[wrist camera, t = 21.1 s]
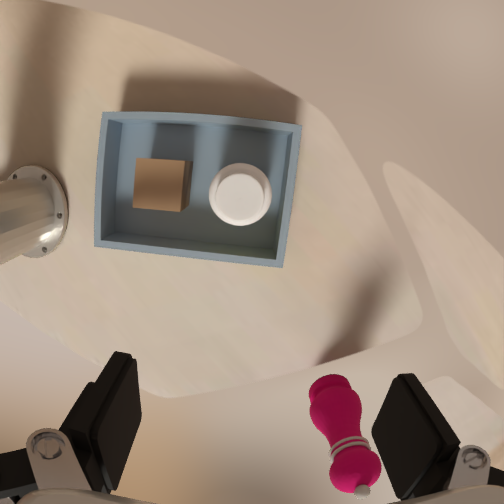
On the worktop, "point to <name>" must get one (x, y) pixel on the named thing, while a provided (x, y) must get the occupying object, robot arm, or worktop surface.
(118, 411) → the robot arm
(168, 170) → the walnut cube
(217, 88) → the worktop surface
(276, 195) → the tote
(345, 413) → the pepper mill
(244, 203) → the supplement bottle
